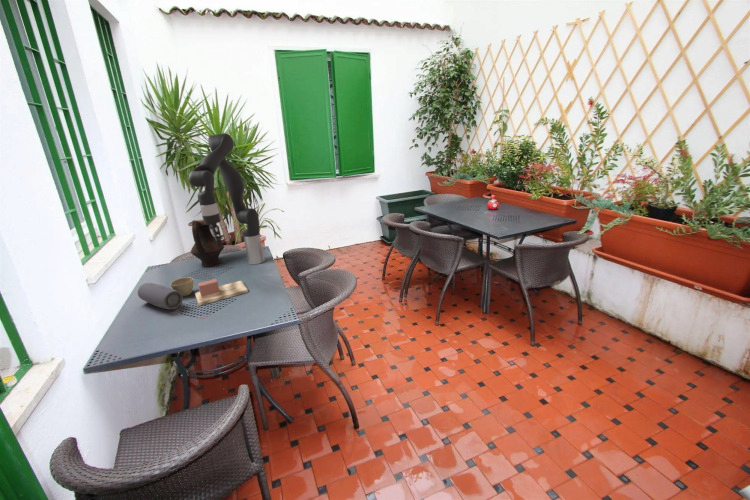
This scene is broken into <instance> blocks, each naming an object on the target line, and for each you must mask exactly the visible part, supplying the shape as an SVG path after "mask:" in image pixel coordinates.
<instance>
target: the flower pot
mask: <svg viewBox="0 0 750 500" xmlns="http://www.w3.org/2000/svg"><path fill="white" fill-rule="evenodd" d="M170 286H171V287H170V288H171V289H174V290H176V291H178V292H180V293H181V294H182V296H183V297H187V296H189V295H191V294H192V292H193V289H194V278H193V277H191V276H189V277H187V276H185V277H181V278H177V279H174V280H173V281H171V282H170Z"/></svg>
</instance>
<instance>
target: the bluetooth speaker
mask: <svg viewBox="0 0 750 500" xmlns="http://www.w3.org/2000/svg"><path fill="white" fill-rule="evenodd" d="M137 296H138V297H139V299H140V300H142V301H144V302H146V303H148V304H151V305H152V306H156V307H158V308H160V309H164V310H167V309H168V310H174V309H177V308H178V307H180V306H181V305H182V303H183V301H184V296H182V294H181V293H180V292H178V291H176V290H174V289H173V288H172V287H169V286H165V285H161V284H157V283H152V282H146V283H143V284H142V285H140V286H139V288H138V290H137Z"/></svg>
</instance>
